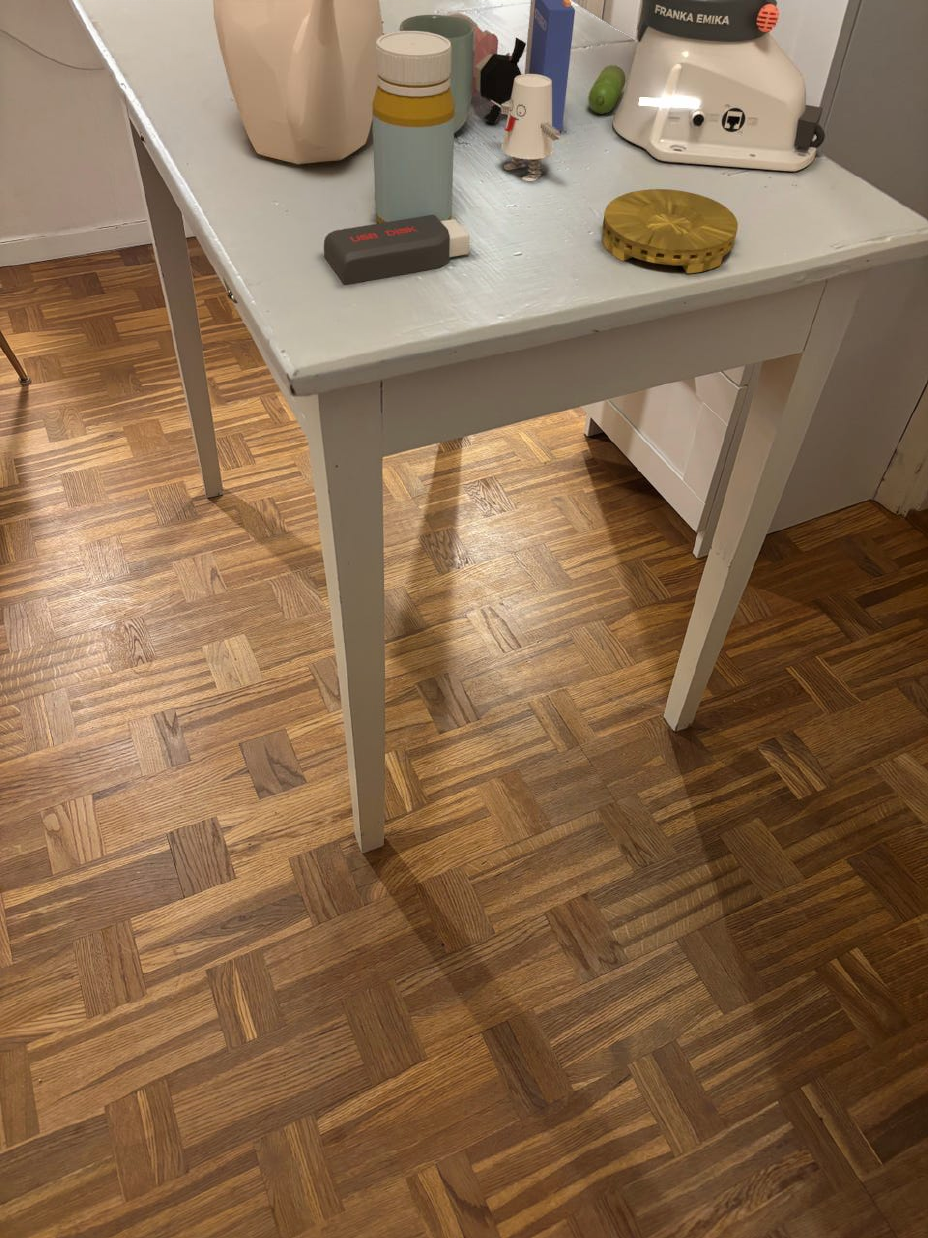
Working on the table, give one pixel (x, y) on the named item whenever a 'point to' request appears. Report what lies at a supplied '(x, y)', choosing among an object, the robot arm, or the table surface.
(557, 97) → the walkman
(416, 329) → the table surface
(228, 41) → the watering can
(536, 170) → the toy figure
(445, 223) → the usb drive
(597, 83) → the pickle
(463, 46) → the cup
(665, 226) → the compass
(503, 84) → the toy
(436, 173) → the bottle
